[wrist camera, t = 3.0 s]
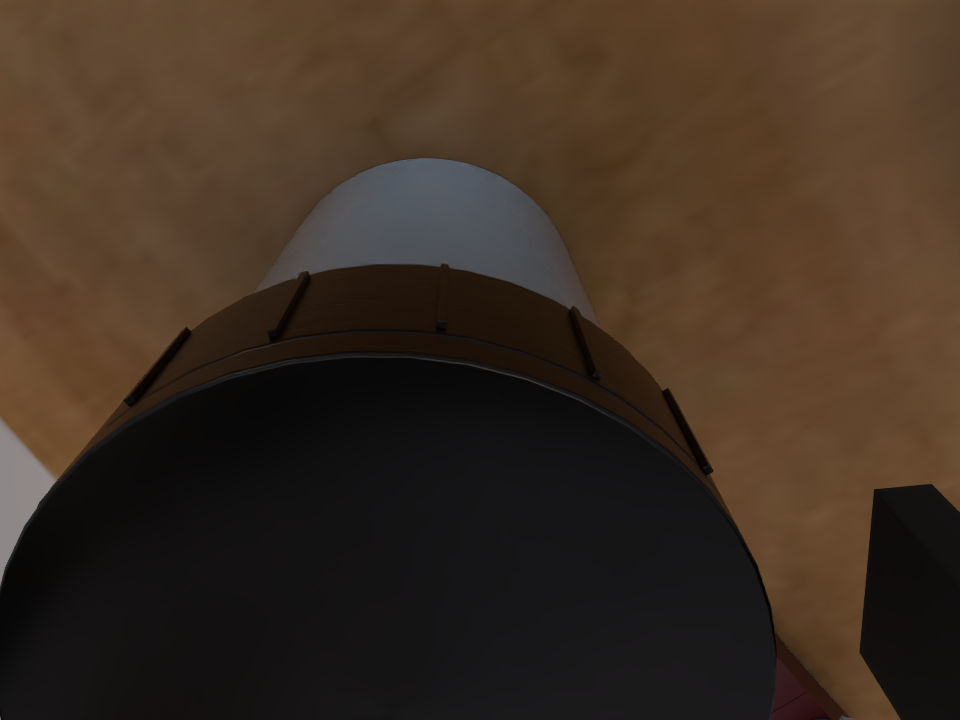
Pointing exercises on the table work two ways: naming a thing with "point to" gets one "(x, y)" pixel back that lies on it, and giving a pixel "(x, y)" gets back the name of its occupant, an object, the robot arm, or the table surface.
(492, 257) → the jar
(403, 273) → the lid
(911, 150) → the table surface
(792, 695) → the toy gun
